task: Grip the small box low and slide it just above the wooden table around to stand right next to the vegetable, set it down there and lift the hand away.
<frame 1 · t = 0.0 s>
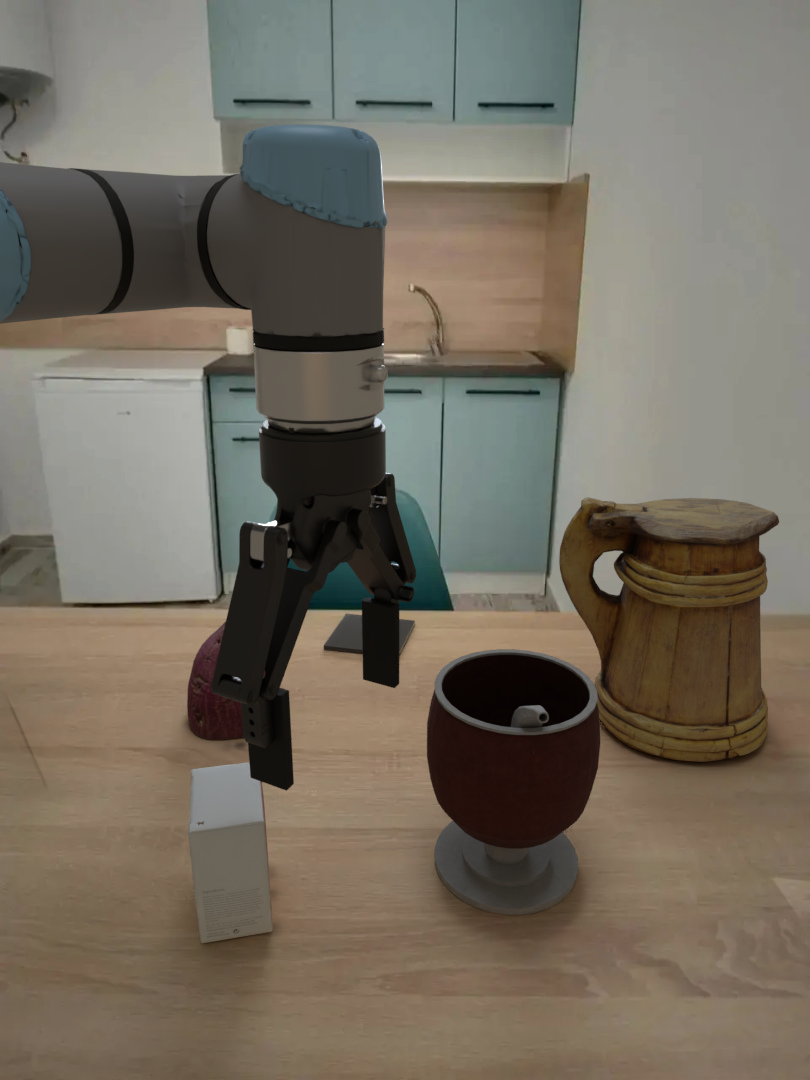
hand: (332, 726, 56), 19 cm above the table, tool pointing down, fingers open, 13 cm apart
mate gourd: (507, 869, 71), on the table
tankard: (654, 717, 93), on the table
vegetable: (233, 716, 93), on the table
small box: (235, 903, 67), on the table
slate coaster: (370, 636, 111), on the table
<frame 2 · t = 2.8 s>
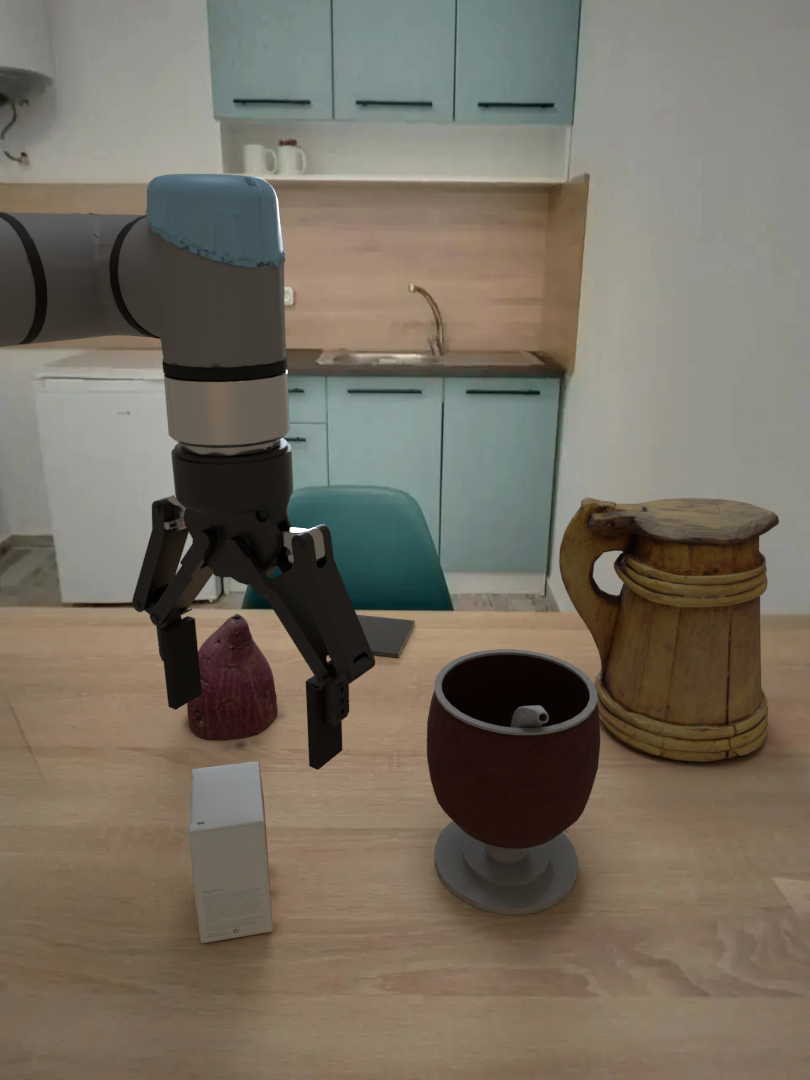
hand: (251, 728, 60), 17 cm above the table, tool pointing down, fingers open, 13 cm apart
nothing on the table moved.
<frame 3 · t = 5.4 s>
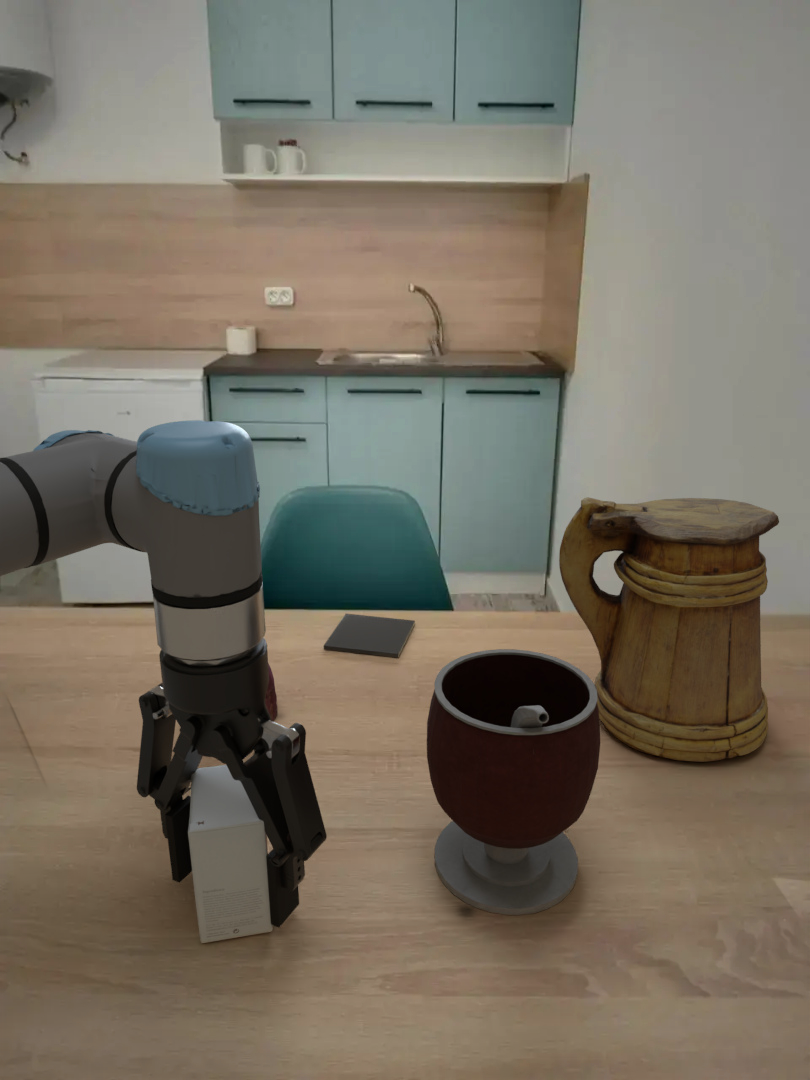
hand: (234, 891, 67), 1 cm above the table, tool pointing down, fingers closed on small box, 9 cm apart
small box: (235, 903, 67), on the table, touching gripper
everything else where it was.
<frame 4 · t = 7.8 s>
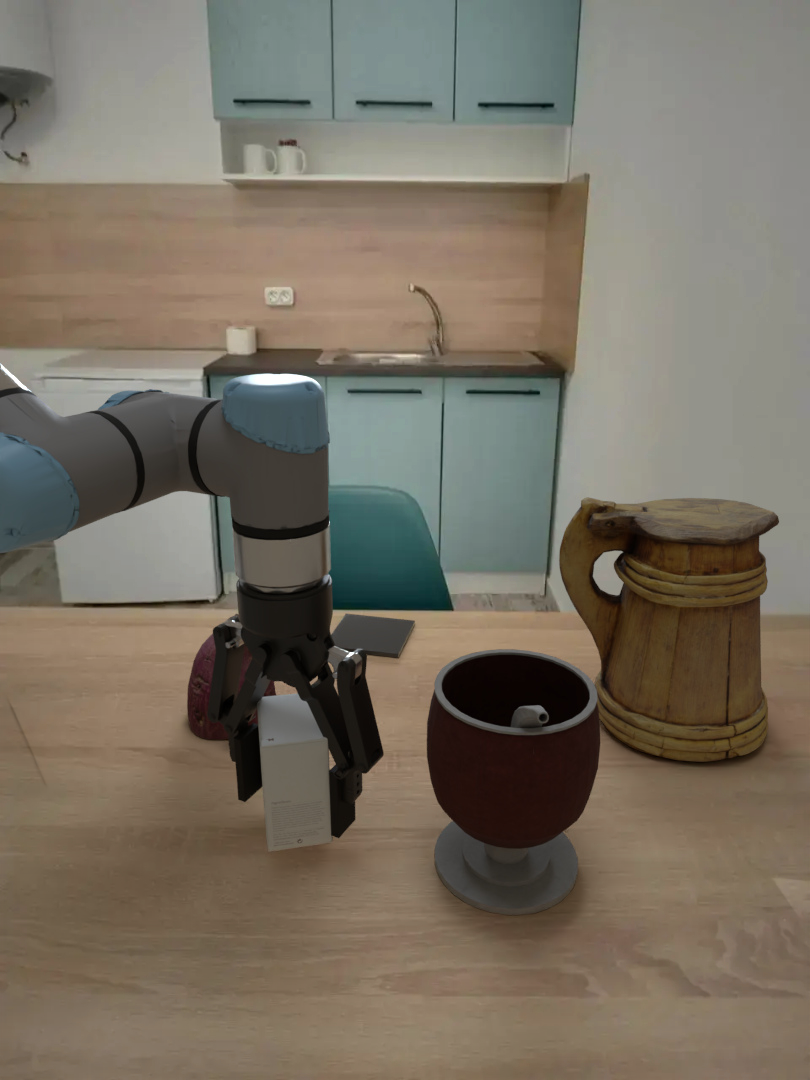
hand: (295, 809, 73), 3 cm above the table, tool pointing down, fingers closed on small box, 9 cm apart
small box: (296, 820, 74), point 2 cm above the table, touching gripper
everything else where it was.
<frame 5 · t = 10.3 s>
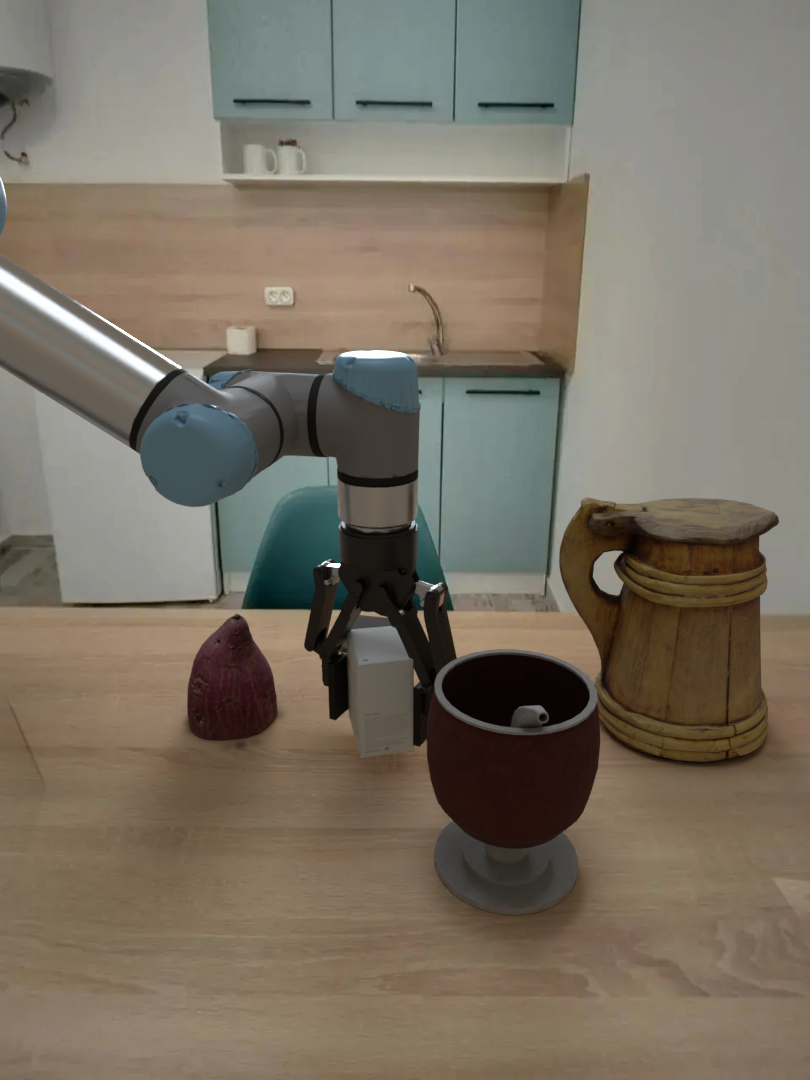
hand: (379, 725, 86), 3 cm above the table, tool pointing down, fingers closed on small box, 9 cm apart
small box: (380, 735, 86), point 2 cm above the table, touching gripper
everything else where it was.
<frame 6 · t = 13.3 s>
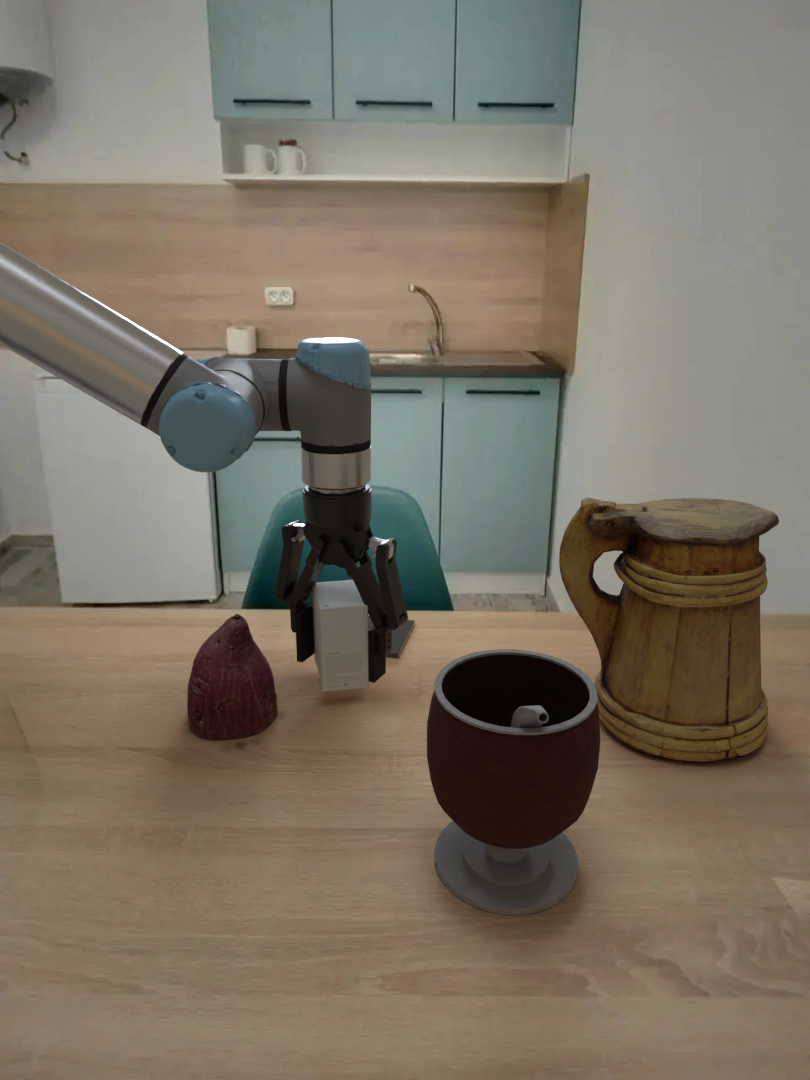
hand: (340, 666, 98), 3 cm above the table, tool pointing down, fingers closed on small box, 9 cm apart
small box: (341, 675, 98), point 2 cm above the table, touching gripper
everything else where it was.
when the fingers open (1 cm above the table, at t = 15.6 s): small box stays where it is, on the table.
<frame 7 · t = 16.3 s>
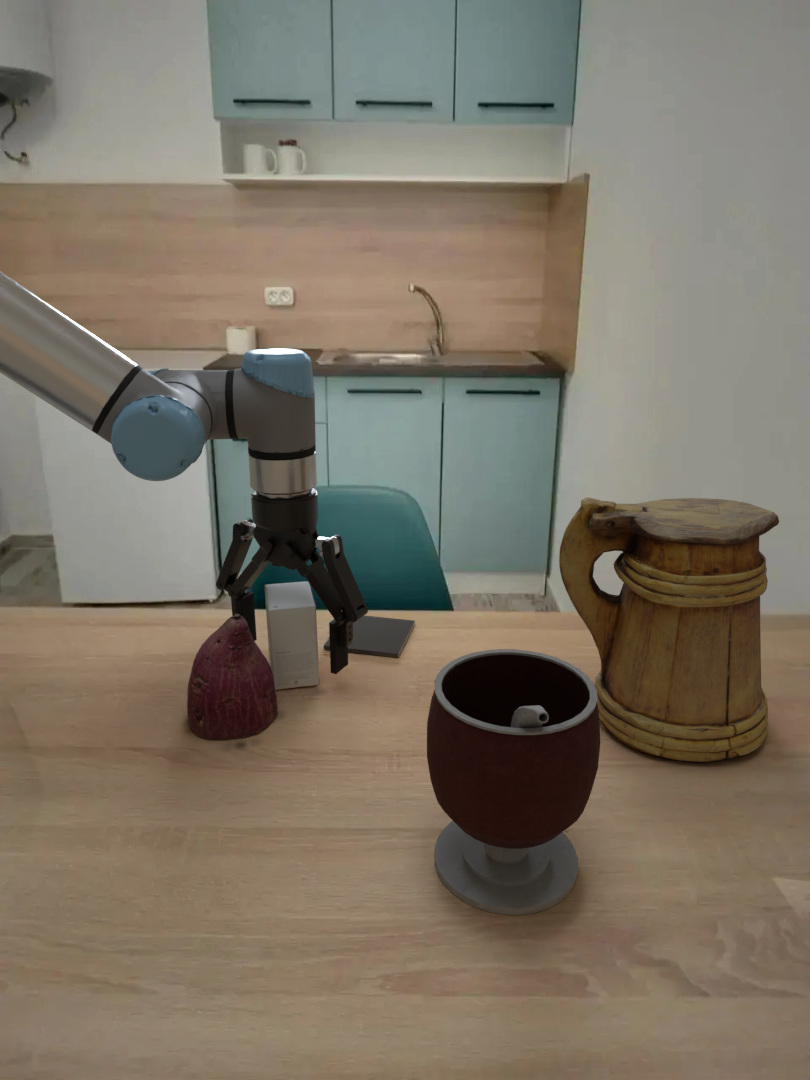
hand: (292, 655, 101), 2 cm above the table, tool pointing down, fingers open, 13 cm apart
small box: (293, 674, 102), on the table
everything else where it was.
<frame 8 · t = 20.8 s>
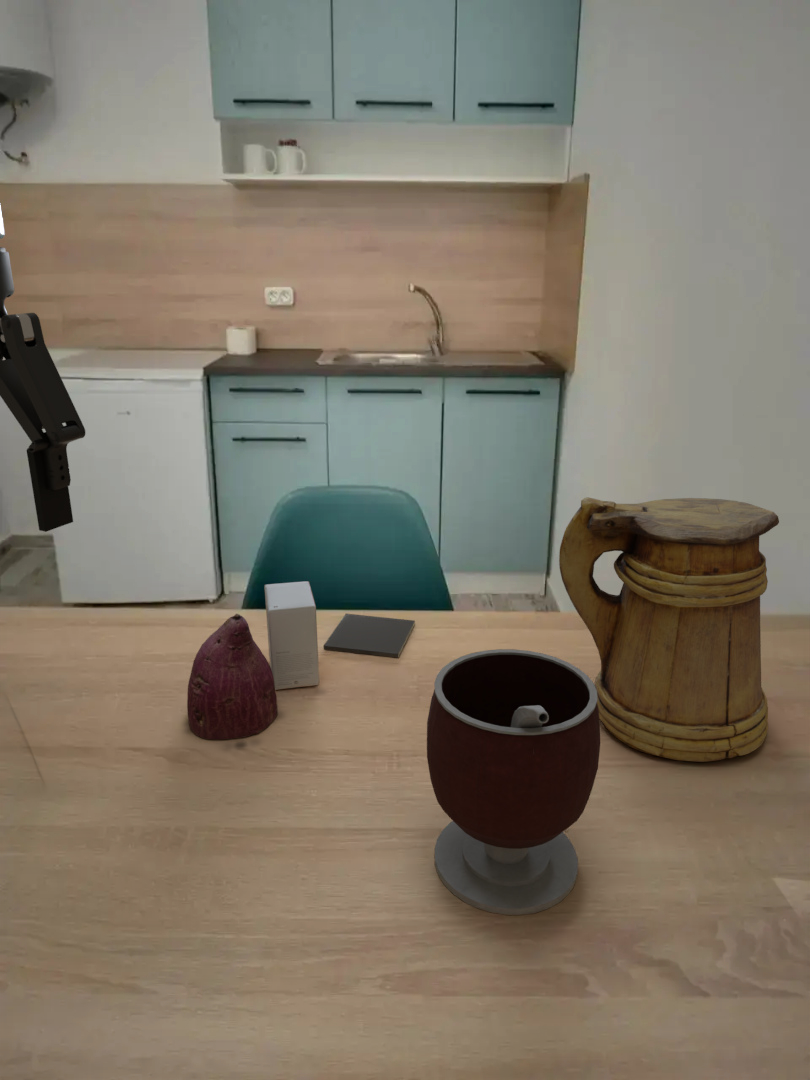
nothing on the table moved.
at the end: small box 11.0 cm from the vegetable (horizontally); small box tilted 0°; vegetable moved 0.2 cm from its start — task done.
